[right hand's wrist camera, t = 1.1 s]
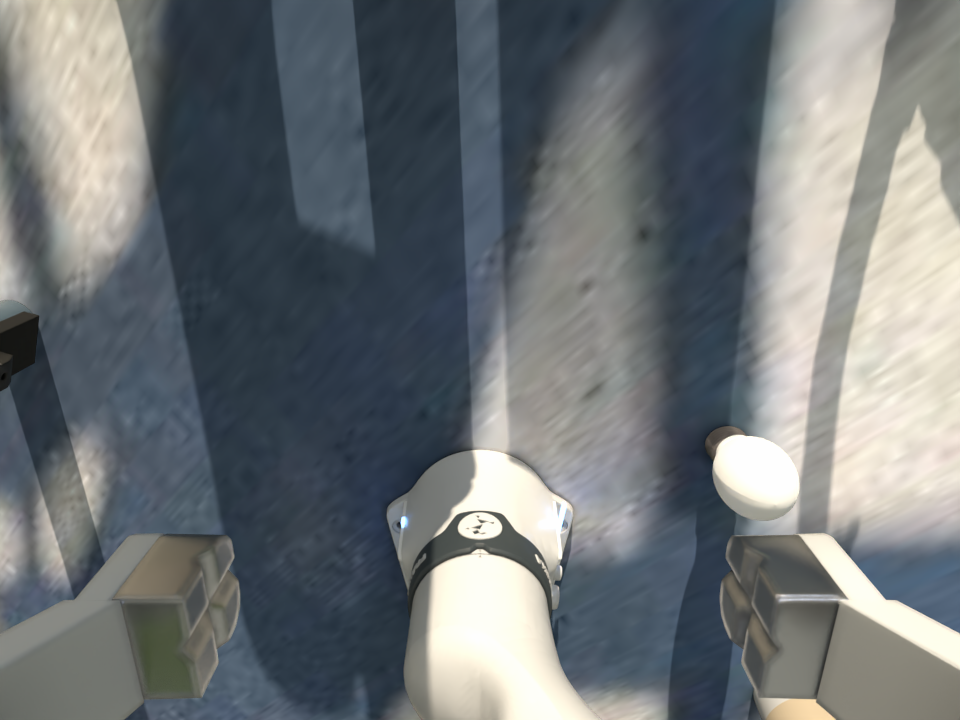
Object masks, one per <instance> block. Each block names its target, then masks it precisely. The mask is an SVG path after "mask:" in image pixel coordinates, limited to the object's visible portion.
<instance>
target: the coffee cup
mask: <svg viewBox="0 0 960 720" xmlns="http://www.w3.org/2000/svg"><path fill="white" fill-rule="evenodd" d="M753 697H754V701H755V703H756V706H757V708H758V711H759V714H760V716H761V719H762V720H836V719H835V718H834V717H832V716H831V715H830V714H829V713H828V712H827V711H826V710H824V709H823V708H822V707H821V706H820V705H819V704H817V703H816V699H783V698H758V696H757V694H756V691H755V689H754V692H753Z"/></svg>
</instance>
